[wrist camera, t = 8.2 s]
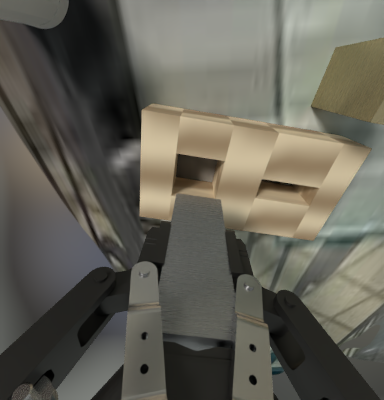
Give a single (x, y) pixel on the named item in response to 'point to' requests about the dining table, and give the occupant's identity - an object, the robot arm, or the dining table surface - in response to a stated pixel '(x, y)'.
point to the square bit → (197, 276)
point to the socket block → (247, 169)
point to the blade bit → (354, 82)
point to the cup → (34, 12)
